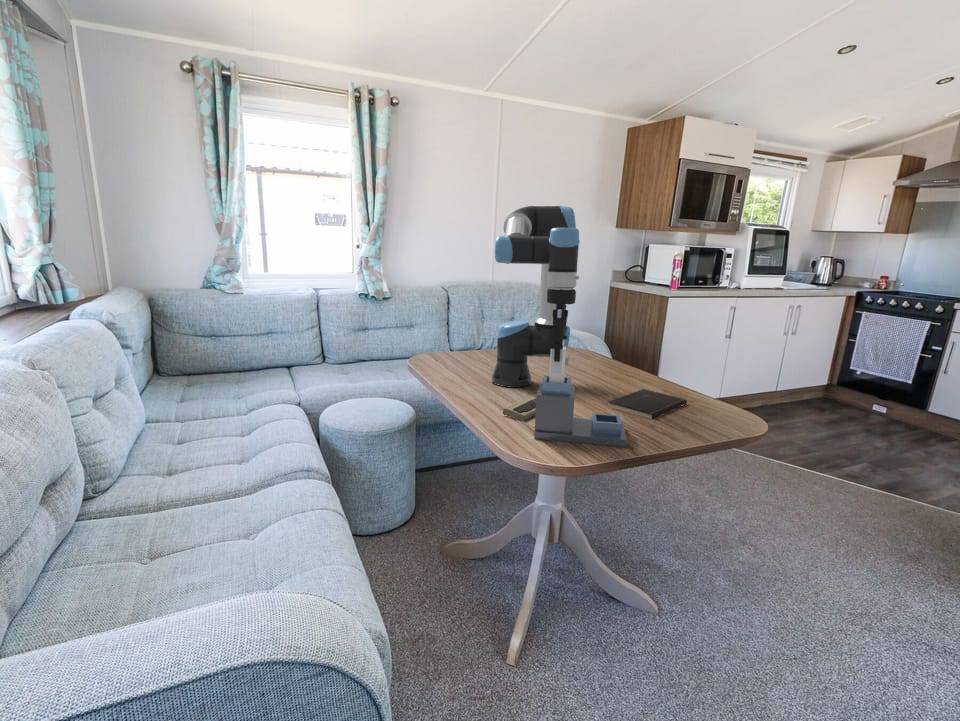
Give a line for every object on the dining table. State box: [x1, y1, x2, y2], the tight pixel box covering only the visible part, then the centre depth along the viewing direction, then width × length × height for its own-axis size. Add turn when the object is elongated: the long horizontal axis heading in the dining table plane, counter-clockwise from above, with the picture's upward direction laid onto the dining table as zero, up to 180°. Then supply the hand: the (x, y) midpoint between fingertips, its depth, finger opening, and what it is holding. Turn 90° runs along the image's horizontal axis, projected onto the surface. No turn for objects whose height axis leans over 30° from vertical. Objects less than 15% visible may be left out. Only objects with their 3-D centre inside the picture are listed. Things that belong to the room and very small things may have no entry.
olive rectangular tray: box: [502, 396, 536, 421], centre depth 153 cm, size 16×8×3 cm, turn 144°
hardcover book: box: [606, 388, 688, 420], centre depth 161 cm, size 16×23×2 cm
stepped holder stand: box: [533, 375, 628, 448], centre depth 134 cm, size 24×14×15 cm, turn 78°
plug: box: [548, 347, 570, 383], centre depth 133 cm, size 5×4×12 cm
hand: (557, 367), depth 133 cm, fingers open, 12 cm apart
